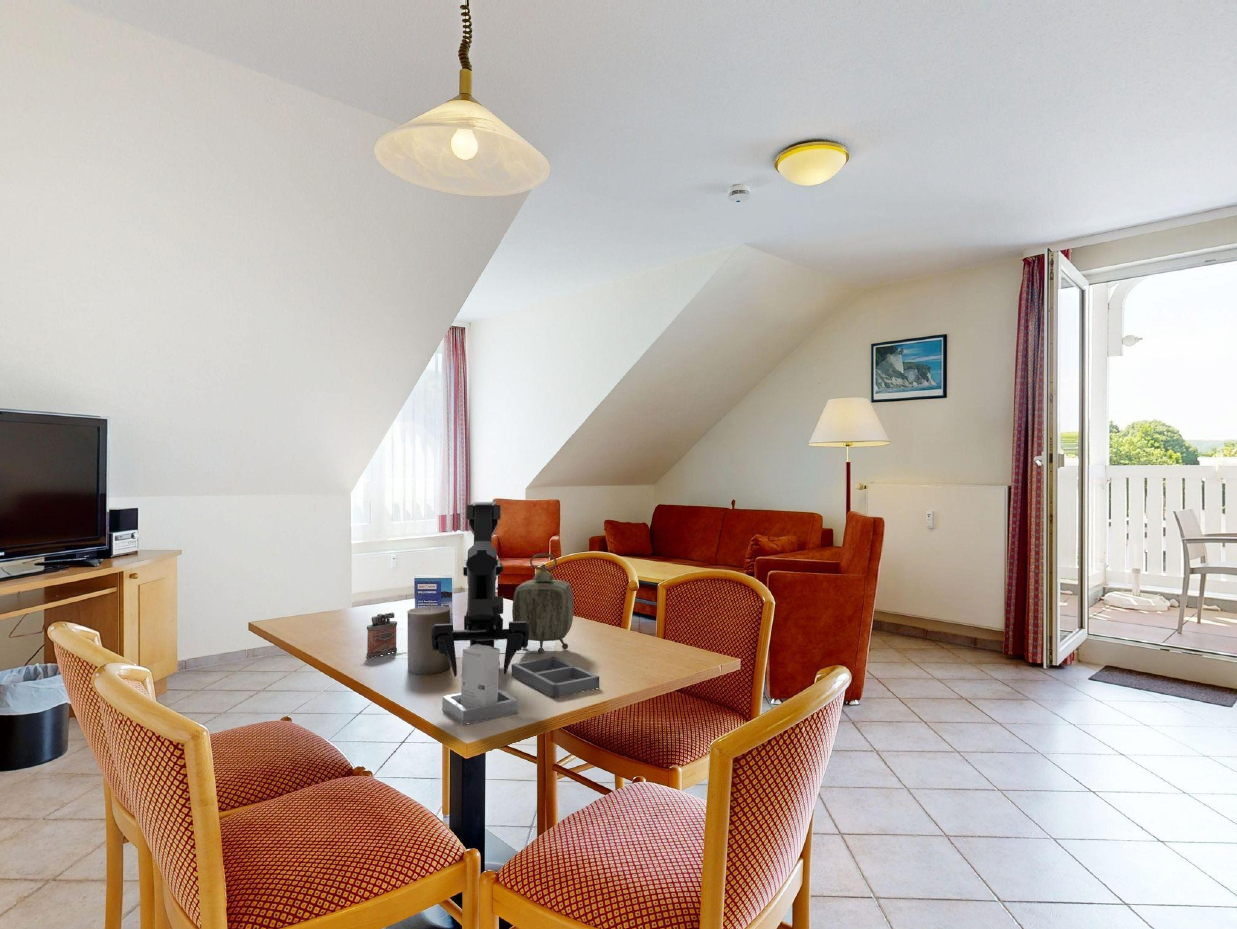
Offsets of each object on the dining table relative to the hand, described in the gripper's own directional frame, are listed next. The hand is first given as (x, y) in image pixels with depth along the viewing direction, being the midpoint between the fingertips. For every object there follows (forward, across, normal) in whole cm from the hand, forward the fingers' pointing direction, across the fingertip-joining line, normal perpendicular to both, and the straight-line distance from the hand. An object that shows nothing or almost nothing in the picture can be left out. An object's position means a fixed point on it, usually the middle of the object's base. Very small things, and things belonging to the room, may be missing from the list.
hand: (480, 674), depth 129 cm
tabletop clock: (-25, +15, +35) cm, 45 cm away
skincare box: (+5, 0, +6) cm, 7 cm away
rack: (-7, +16, +17) cm, 24 cm away
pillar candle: (-17, -12, +28) cm, 35 cm away
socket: (+4, 0, +6) cm, 7 cm away
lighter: (-28, -25, +38) cm, 53 cm away
